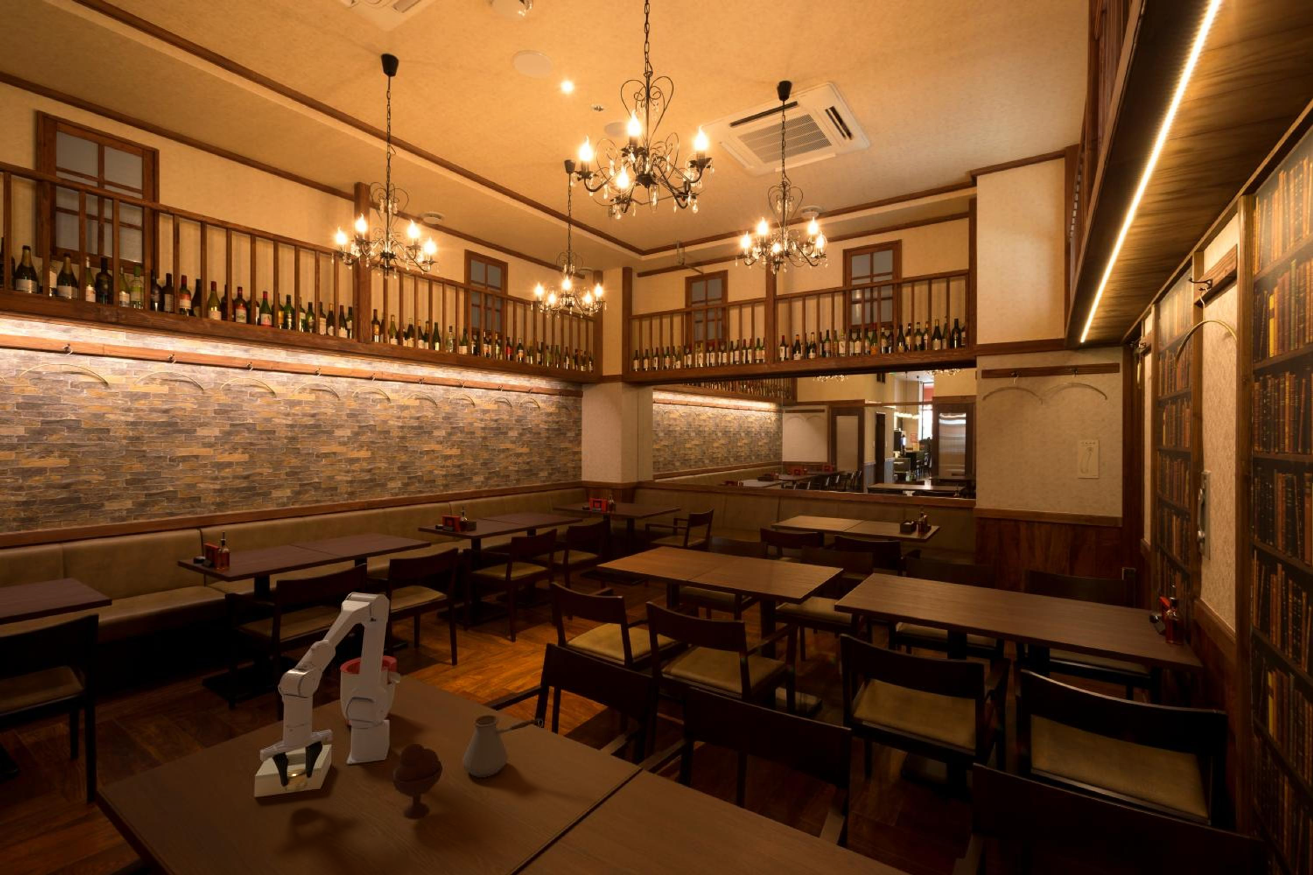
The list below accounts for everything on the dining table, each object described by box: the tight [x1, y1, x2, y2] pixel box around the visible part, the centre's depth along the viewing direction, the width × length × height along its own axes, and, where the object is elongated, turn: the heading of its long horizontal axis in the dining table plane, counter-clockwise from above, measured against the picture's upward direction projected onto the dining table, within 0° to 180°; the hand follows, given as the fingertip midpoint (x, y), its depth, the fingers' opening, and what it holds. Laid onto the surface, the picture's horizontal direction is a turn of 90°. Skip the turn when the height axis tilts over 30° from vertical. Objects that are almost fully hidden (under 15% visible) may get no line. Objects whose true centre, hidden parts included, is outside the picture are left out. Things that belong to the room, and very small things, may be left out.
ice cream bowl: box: [391, 743, 443, 819], centre depth 139 cm, size 11×11×15 cm
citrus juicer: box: [339, 655, 402, 727], centre depth 185 cm, size 16×17×20 cm
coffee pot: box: [462, 714, 544, 778], centre depth 157 cm, size 21×12×15 cm, turn 78°
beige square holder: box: [253, 744, 332, 798], centre depth 151 cm, size 14×12×5 cm
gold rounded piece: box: [285, 769, 308, 793], centre depth 141 cm, size 4×4×3 cm
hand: (296, 780), depth 141 cm, fingers closed on gold rounded piece, 4 cm apart
